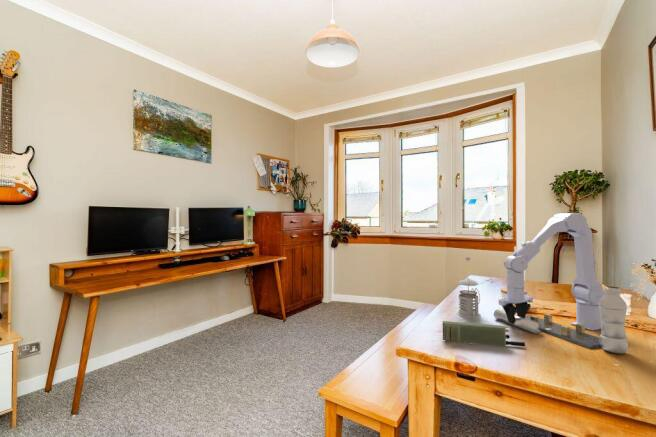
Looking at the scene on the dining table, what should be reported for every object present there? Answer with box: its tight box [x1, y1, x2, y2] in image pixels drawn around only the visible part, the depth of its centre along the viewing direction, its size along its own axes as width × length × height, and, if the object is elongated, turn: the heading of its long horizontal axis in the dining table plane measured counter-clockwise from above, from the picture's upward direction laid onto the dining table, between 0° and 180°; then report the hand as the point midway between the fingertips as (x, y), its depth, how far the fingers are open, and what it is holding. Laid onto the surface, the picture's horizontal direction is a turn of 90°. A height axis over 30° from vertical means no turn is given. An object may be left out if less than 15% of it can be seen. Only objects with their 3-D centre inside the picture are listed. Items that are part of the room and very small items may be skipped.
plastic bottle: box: [599, 285, 629, 354], centre depth 99 cm, size 6×7×20 cm
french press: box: [456, 256, 482, 319], centre depth 137 cm, size 10×12×25 cm
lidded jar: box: [500, 287, 528, 299], centre depth 149 cm, size 11×11×9 cm
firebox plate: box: [525, 313, 602, 350], centre depth 117 cm, size 10×30×4 cm, turn 16°
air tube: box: [493, 309, 542, 335], centre depth 123 cm, size 18×4×4 cm, turn 16°
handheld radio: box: [442, 320, 526, 348], centre depth 107 cm, size 7×3×25 cm
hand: (516, 322), depth 123 cm, fingers closed on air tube, 4 cm apart
